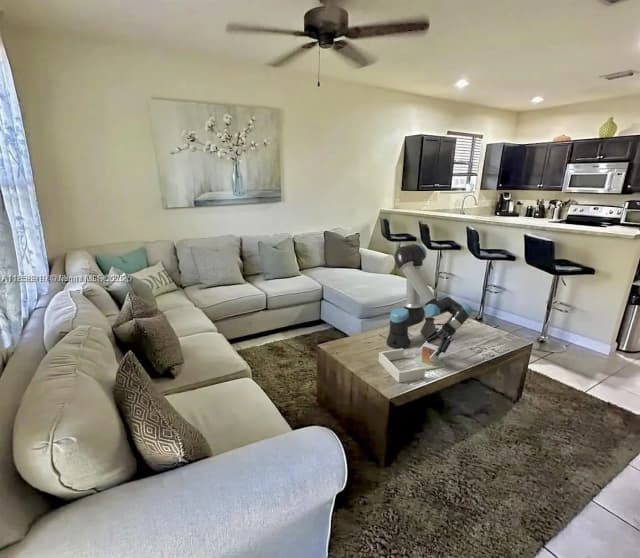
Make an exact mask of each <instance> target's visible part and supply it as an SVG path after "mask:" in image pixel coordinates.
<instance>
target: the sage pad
mask: <svg viewBox="0 0 640 558" xmlns="http://www.w3.org/2000/svg"><path fill="white" fill-rule="evenodd" d="M413 362H415V364H416V365H418V366H419V368H422V367H424V368H425V372H427V371H432V370H436V369H442V368H446V367H447V365H446V363H444V362H443V361H441V360H440V359H438V363H437V364H436V365H435V366H432V365H430V364H427V363H425V362H422V357H419V358H414V359H413Z"/></svg>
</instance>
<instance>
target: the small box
mask: <svg viewBox="0 0 640 558" xmlns="http://www.w3.org/2000/svg"><path fill="white" fill-rule="evenodd" d="M422 346H423V345H422ZM437 349H439V346H438V345H435V344H432V343H430V344H429V343H426V344H425V345H424V346H423V351H421V354H422V355H421V358H422V362H425V363H427V364H430V365H432V366H435V365H436V364H437V363H438V359H439V356H440V354H439V355H438V356H437V357H436V358H435V359H434V360H432V359H431V358H430V356H431V355H432V354H433V353H434V352H435V351H436V350H437ZM439 360H440V359H439Z"/></svg>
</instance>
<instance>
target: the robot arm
mask: <svg viewBox="0 0 640 558" xmlns="http://www.w3.org/2000/svg"><path fill="white" fill-rule="evenodd" d="M426 258H427V250H426V248H425V247H424V246H423V245H422V244H420V243H411V244H408V245H403V246H400V247H398V248H397V249H396V250H395V253H394V263H395V265H396V267H397V269H398V270H399V272H402V273H403V275H404V276H405V277H406V302H405V303H404V305H403V307H398V308H394V309H392V310H391V312H390V316H389V332H388V336H387V338H386V345H387V346H388V347H389V348H392V349H394V350H396V349H402V348H403V349H408V348H409V347H410V346H411V345H410V344H411V340H410V337H409V333H408V332H409V331H408V330H409V328H410V327H412V326H415V325H419V324H421V323H422V322H424V321H425V318H426V316H427V317H432V318H434V317H438V316H440V315H442V314H445V313H449V314H450V315H451V316H450V317H449V318H448V319H447V320H446V322H444V323H443V324H444V325H441V328H440V329H439V327H436V329H435V331H433V332H432V333H431V334H429V335H428V336H427V337H424V340H425V341H424V343H422V346H420V347H419V351H421V352H422V351H423V346H424V345H425V344H426V343H429V344H431V343H432V342H434V341H436V340H437V339H441V341H440V344H439V346H438V347H439V349H437V350H436V351H435V352H434V353H433V354H432V355H431V356H430V358H431V359H432V360H434V359H435V358H436V357H437V356H438V355H439V356H440V355H441V353H443V354H445V353H446V351H448V348H449V347H450V345H451V343H452V342H453V341H454V338H453V337H452V336H454V334H455V333H456V332H457V330H459V329H460V328H461V327H462V326H463V324H464V323H465V322H467V320H468V319H469V318H470V316H471V315H472V314H473V313H474V310H473V308H472V307H471V306H470V305H469V304H468V303H465V302H463V303H461V304H460V303H459V302H457V301H456V300H454V299H452V297H451V296H448V295H446V294H443V295H441V296H440V297H439V298H438V299H437V297H436V296H435V294H434V293H433V292H432V291H431V288H430V287H429V286H428V284H427V283H426V281H425V280H424V278H423V277H422V276H421V268H422V266H423V263H424V260H425V259H426ZM420 301H422V303H423V304H424V305H425V307H423V304H422V303H421V302H420Z"/></svg>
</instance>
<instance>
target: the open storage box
mask: <svg viewBox="0 0 640 558" xmlns="http://www.w3.org/2000/svg"><path fill="white" fill-rule="evenodd" d="M401 359H404V349H403V348H402V349H391V350H386V351H385V350H384V351H380V352H378V363H380V365H381V366H382V367H383V368H385V371H387V372H388V373H389V374H390V375H391V376H392V378H394V380H396V382H397V383H398V384H400V383H404V382H409V381H410V380H411V381H415V380H416V381H417V380H420V379H425V374H426V371H425V368H424V367H422V368H421V367H418V368H417V367H416V368H412V369H407V370H406V369H405V370H402V371H401V370H399V369H398V368H397V367H396V366H395V365H394V364H393V363H392V362H391V361H395V360H401Z"/></svg>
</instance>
